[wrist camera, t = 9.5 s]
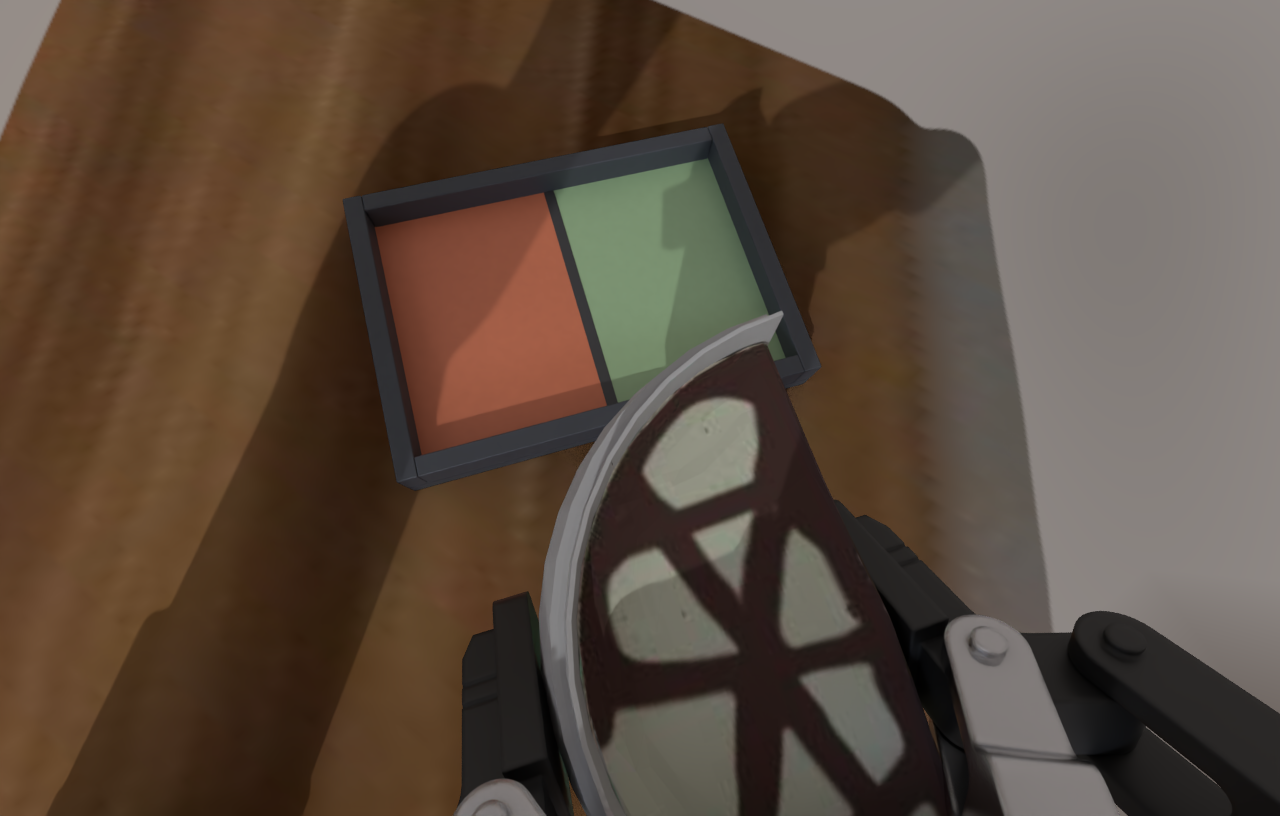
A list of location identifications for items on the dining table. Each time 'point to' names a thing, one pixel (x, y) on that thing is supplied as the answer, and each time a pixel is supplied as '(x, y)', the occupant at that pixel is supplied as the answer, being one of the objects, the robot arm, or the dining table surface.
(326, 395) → the dining table surface
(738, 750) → the food container
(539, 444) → the sorting tray
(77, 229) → the dining table surface
